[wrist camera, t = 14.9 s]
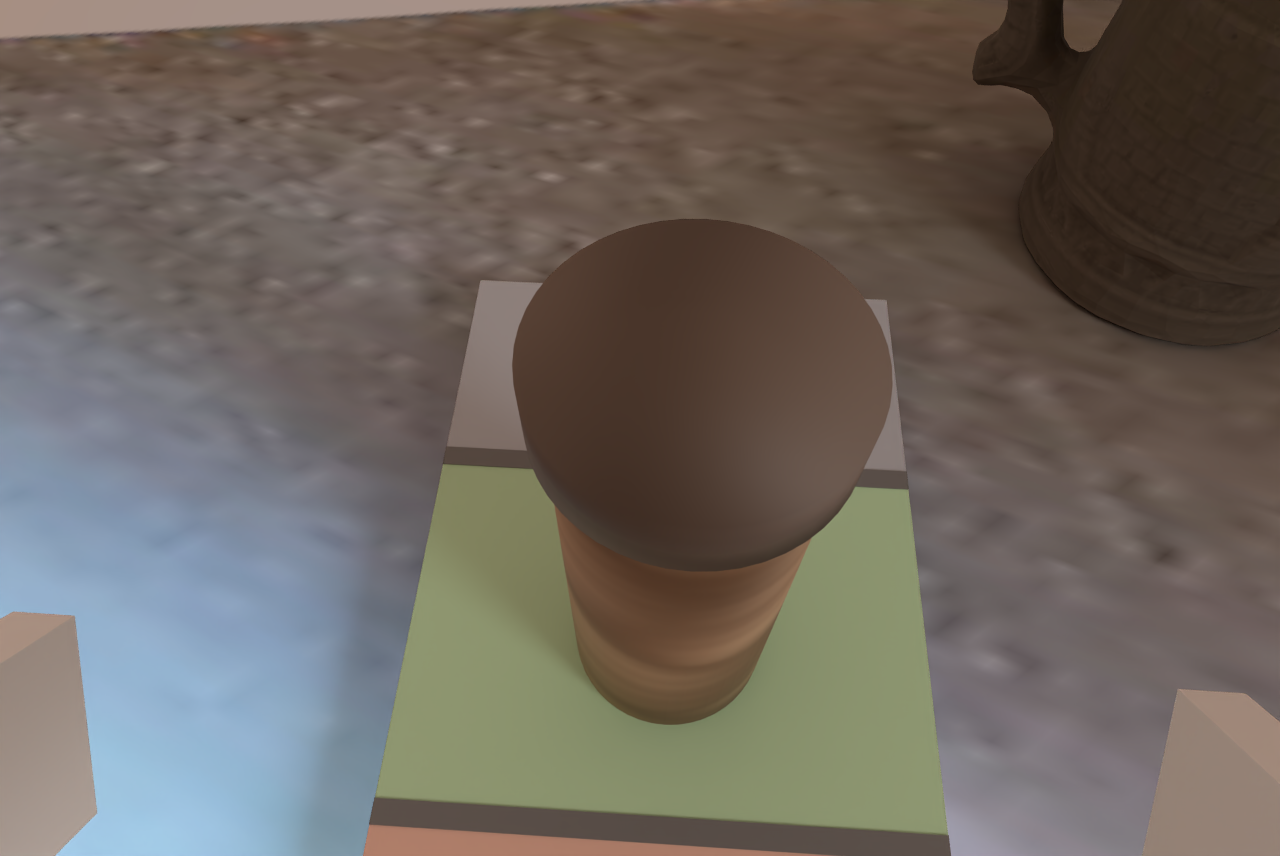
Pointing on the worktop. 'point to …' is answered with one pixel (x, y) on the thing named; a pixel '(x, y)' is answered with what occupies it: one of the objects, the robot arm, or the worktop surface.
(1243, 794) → the robot arm
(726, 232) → the wooden dark-capped post
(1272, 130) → the beer stein
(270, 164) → the worktop surface
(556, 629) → the gauge board
